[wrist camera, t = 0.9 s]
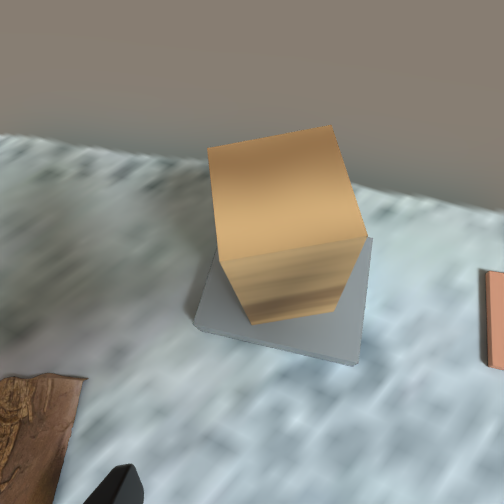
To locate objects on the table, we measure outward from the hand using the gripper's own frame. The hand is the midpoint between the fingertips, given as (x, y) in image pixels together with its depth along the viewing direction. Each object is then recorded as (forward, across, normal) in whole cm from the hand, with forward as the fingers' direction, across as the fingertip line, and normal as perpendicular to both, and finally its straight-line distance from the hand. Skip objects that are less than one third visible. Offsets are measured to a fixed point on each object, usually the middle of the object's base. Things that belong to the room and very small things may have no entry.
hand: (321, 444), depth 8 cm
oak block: (+14, 0, +2) cm, 14 cm away
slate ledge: (+15, 0, +3) cm, 15 cm away
